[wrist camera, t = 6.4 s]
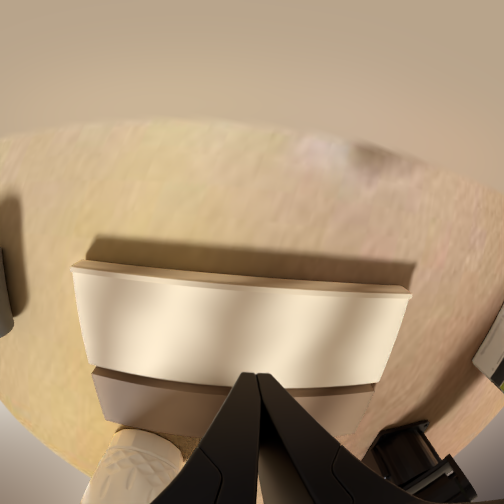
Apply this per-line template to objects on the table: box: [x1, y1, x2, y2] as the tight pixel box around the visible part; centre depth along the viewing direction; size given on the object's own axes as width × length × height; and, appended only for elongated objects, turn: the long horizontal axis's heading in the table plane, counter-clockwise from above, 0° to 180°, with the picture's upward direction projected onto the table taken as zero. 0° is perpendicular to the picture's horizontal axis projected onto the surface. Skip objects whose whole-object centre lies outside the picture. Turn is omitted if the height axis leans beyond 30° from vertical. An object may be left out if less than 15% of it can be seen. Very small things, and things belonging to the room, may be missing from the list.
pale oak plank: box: [70, 260, 413, 388], centre depth 15 cm, size 20×7×2 cm, turn 84°
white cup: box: [80, 429, 183, 504], centre depth 14 cm, size 8×8×10 cm
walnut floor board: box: [91, 366, 375, 438], centre depth 17 cm, size 20×5×1 cm, turn 84°
